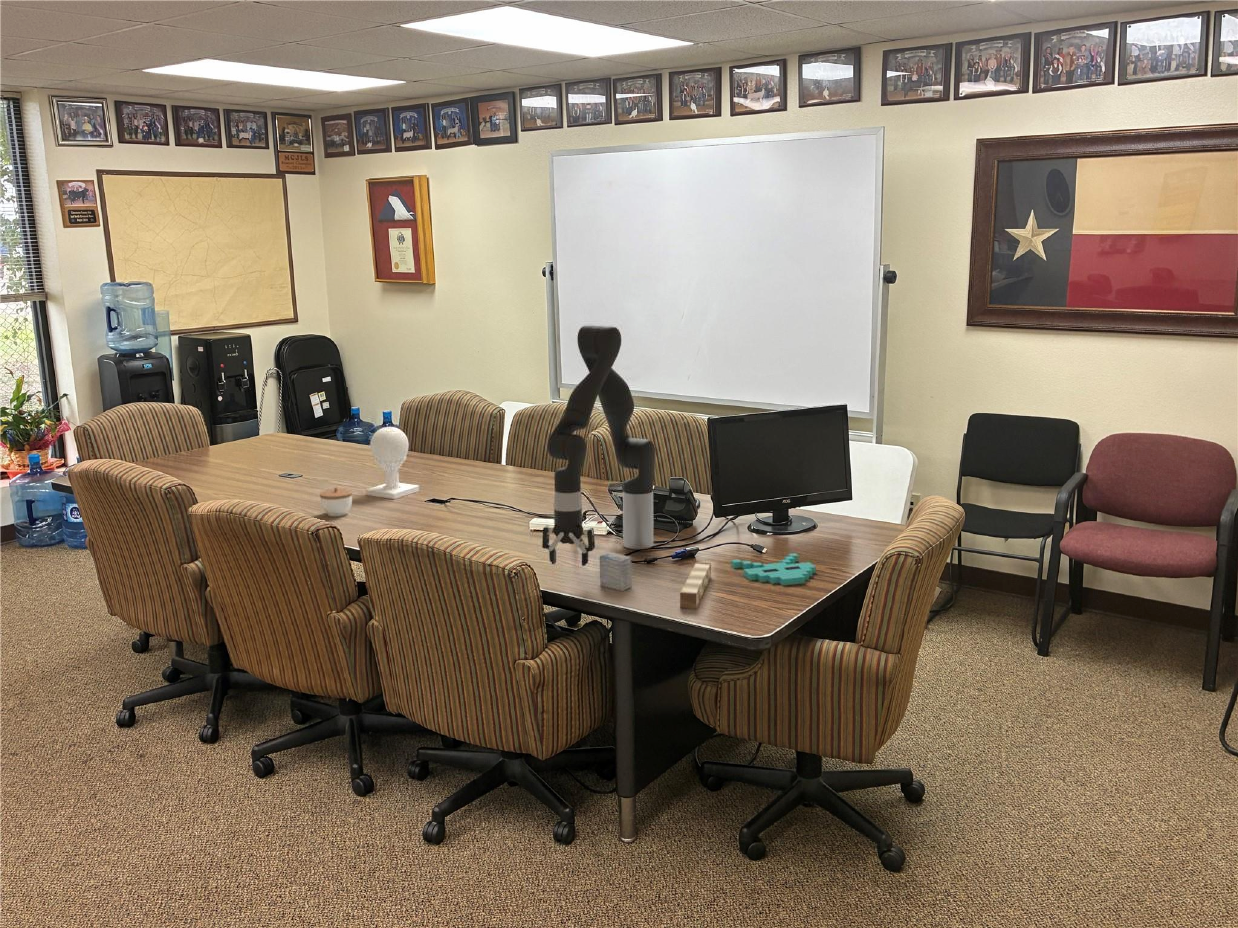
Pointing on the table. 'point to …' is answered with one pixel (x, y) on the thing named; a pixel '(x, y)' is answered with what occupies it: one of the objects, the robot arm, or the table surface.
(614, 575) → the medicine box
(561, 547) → the table surface
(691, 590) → the maple rail
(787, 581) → the alien figure
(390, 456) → the trophy
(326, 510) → the lidded jar
